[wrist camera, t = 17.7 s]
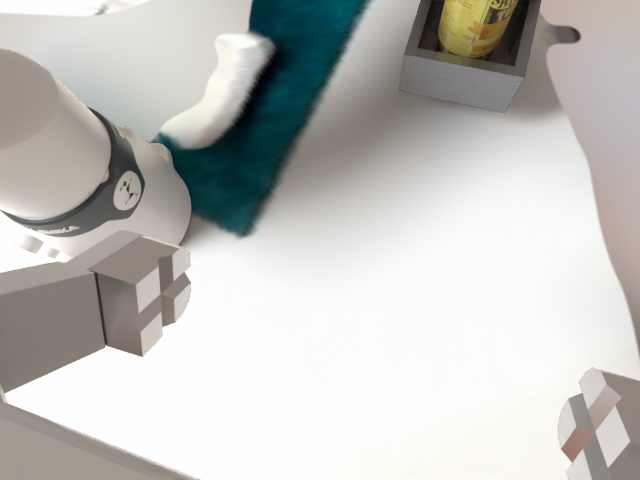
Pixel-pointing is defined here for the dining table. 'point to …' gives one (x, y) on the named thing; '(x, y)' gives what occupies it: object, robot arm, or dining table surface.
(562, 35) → the dining table surface
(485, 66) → the open rectangular box
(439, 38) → the sauce bottle
